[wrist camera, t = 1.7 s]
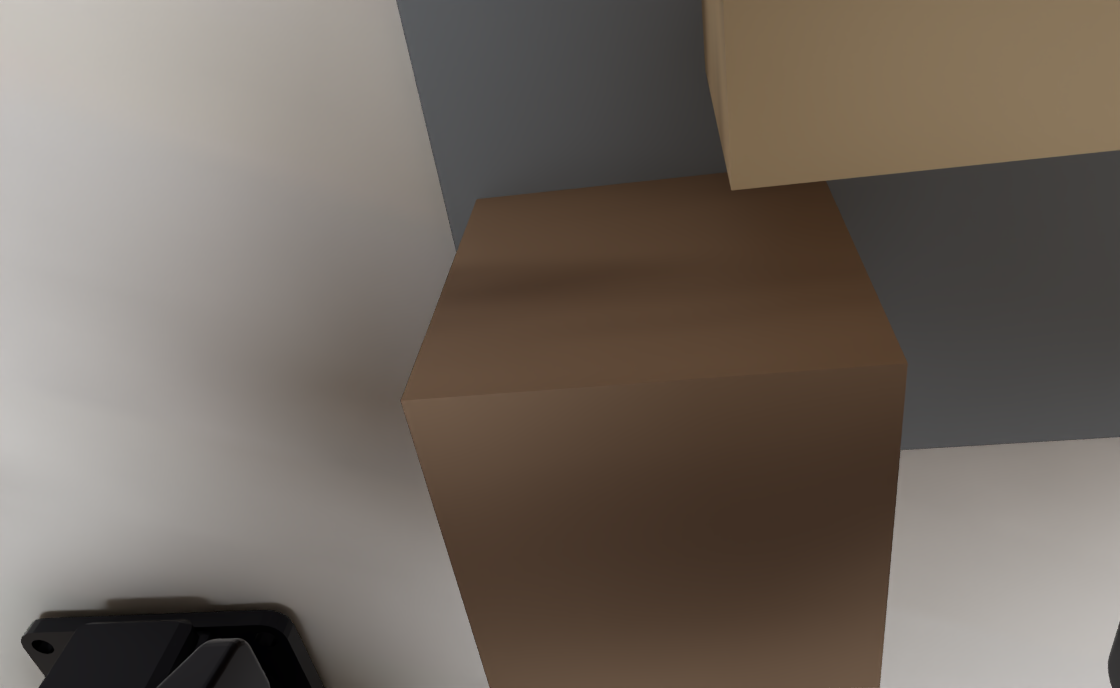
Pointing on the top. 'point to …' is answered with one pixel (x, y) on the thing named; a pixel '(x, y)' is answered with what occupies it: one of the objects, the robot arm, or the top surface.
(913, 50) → the oak base block
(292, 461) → the top surface
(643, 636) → the walnut cube
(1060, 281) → the mat
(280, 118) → the top surface
